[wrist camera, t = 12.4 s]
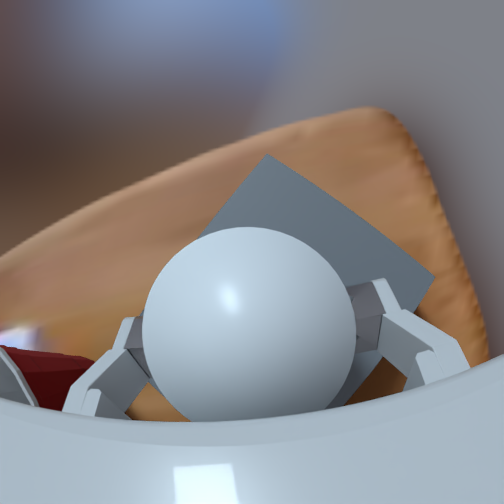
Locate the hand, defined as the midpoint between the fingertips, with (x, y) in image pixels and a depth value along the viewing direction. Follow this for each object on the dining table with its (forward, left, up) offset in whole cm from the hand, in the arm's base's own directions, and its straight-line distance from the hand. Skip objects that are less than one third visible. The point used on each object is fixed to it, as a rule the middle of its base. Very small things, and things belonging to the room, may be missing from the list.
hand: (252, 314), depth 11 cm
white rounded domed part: (0, 0, -6) cm, 6 cm away
